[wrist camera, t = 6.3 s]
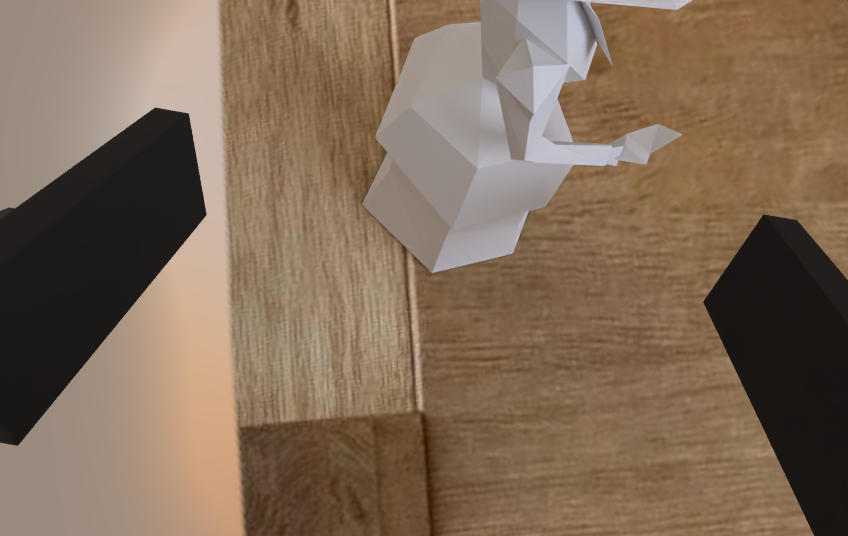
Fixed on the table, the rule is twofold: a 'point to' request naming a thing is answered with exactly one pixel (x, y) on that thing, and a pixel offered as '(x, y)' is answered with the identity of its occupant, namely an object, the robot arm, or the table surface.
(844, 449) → the robot arm
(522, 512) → the table surface
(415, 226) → the figurine
